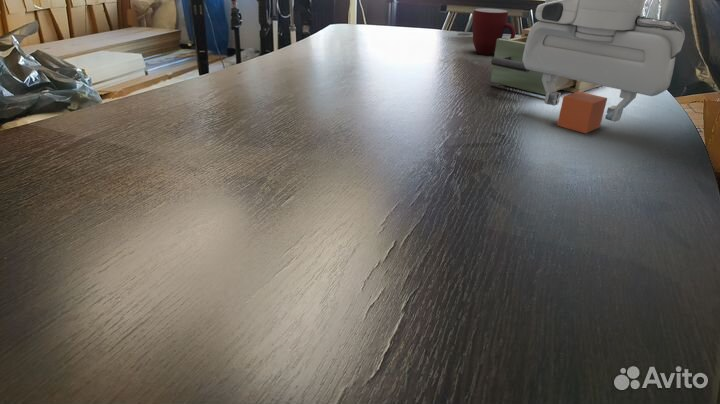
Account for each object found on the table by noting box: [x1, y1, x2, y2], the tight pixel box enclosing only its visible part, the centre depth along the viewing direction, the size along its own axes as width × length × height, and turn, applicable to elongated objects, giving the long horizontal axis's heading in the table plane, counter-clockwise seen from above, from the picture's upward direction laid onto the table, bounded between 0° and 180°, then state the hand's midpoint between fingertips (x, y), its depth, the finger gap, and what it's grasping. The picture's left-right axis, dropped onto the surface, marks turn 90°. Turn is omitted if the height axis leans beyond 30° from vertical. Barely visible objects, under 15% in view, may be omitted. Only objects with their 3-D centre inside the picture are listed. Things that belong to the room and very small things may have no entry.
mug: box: [471, 8, 516, 56], centre depth 121 cm, size 10×8×10 cm
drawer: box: [490, 36, 577, 96], centre depth 91 cm, size 19×12×8 cm, turn 132°
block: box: [557, 92, 608, 134], centre depth 74 cm, size 4×4×4 cm
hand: (580, 111), depth 74 cm, fingers open, 8 cm apart
